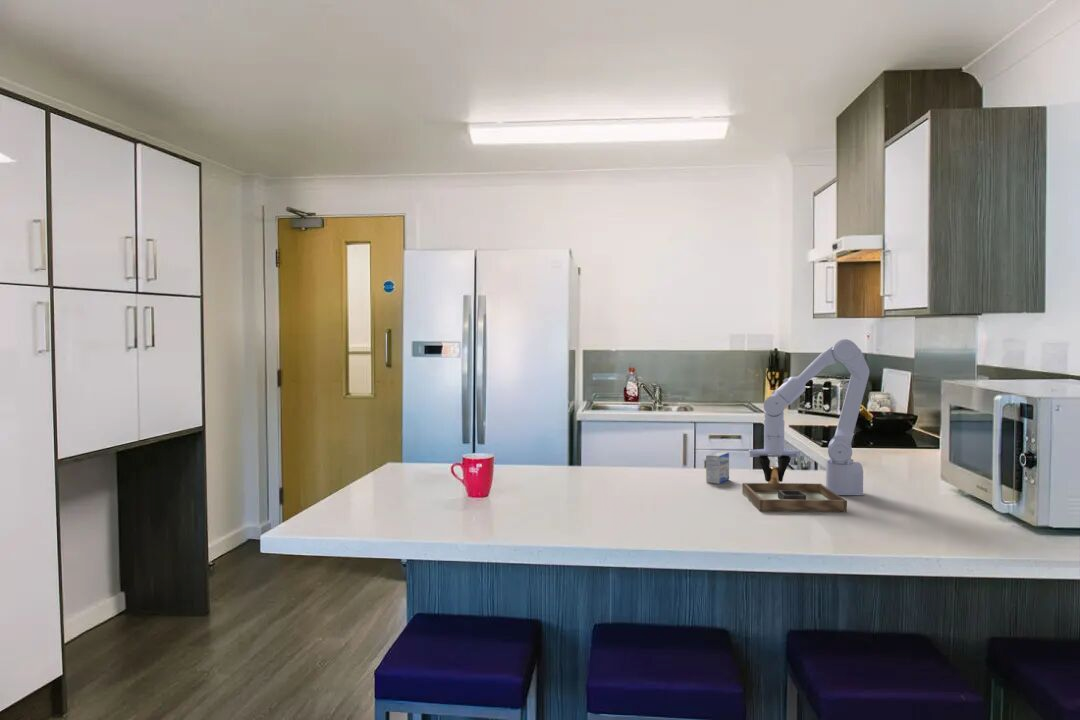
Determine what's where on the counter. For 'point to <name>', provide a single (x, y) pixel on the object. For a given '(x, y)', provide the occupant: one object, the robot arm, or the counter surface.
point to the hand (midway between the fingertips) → (773, 480)
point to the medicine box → (717, 467)
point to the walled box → (793, 497)
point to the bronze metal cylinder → (774, 474)
